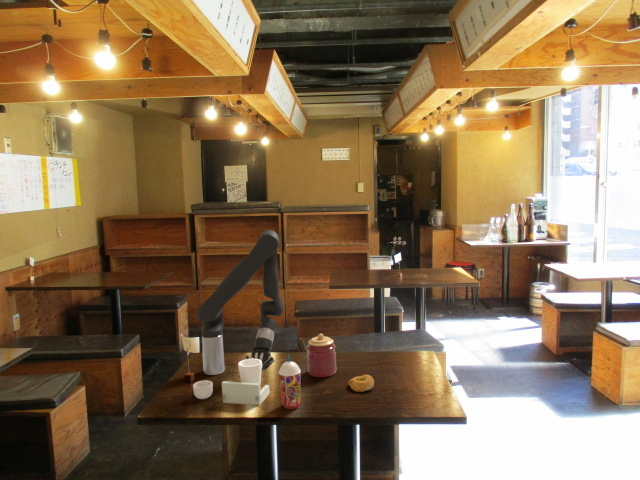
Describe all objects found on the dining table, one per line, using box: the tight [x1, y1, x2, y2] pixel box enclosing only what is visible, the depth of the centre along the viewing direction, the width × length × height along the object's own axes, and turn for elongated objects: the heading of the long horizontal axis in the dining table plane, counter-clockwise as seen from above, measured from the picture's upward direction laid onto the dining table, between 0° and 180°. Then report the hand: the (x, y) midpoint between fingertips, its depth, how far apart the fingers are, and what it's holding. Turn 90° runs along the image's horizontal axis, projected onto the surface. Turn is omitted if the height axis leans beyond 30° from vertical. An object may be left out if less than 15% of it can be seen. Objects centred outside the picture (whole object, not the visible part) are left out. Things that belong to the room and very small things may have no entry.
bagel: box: [348, 374, 375, 393], centre depth 199 cm, size 10×11×5 cm
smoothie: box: [278, 354, 302, 410], centre depth 183 cm, size 8×8×20 cm
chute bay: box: [221, 380, 271, 406], centre depth 193 cm, size 11×15×8 cm
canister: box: [306, 333, 337, 378], centre depth 216 cm, size 13×13×18 cm
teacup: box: [192, 379, 214, 400], centre depth 197 cm, size 10×8×5 cm
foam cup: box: [237, 358, 263, 384], centre depth 196 cm, size 10×9×13 cm
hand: (255, 378), depth 202 cm, fingers closed
